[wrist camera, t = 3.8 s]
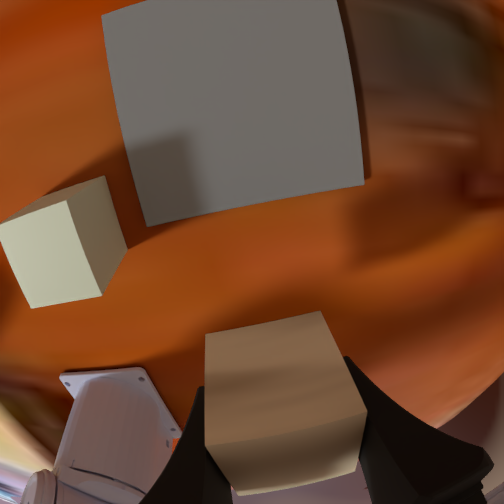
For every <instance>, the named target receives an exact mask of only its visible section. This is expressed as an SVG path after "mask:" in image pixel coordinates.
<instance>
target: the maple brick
mask: <svg viewBox="0 0 504 504" xmlns="http://www.w3.org/2000/svg"><path fill="white" fill-rule="evenodd" d="M366 416H367V409H366V407H365V405H364V403H363V400H362V398H361V396H360V394H359V392H358V389H357V387H356V385H355V383H354V381H353V379H352V376H351V374H350V372H349V370H348V368H347V366H346V363H345V361H344V359H343V357H342V355H341V353H340V351H339V349H338V346H337V344H336V342H335V340H334V338H333V336H332V334H331V332H330V330H329V328H328V326H327V323H326V321H325V319H324V317H323V315H322V313H321V311H316V312H312V313H307V314H303V315H299V316H294V317H290V318H285V319H281V320H276V321H271V322H266V323H262V324H257V325H252V326H247V327H241V328H236V329H231V330H226V331H220V332H215V333H209V334H205V446H206V448H207V450H208V451H209V453H210V454H211V456H212V457H213V459H214V461H215V462H216V464H217V465H218V467H219V468H220V470H221V471H222V473H223V474H224V476H225V477H226V478H227V480H228V481H229V483H230V484H231V486H232V487H233V488H234V490H235V491H236V493H237V494H238V495H239V496H241V495H250V494H257V493H264V492H270V491H276V490H281V489H286V488H292V487H296V486H301V485H306V484H310V483H314V482H318V481H322V480H326V479H330V478H333V477H337V476H341V475H344V474H348V473H351V472H354V471H355V469H356V464H357V461H358V456H359V452H360V447H361V442H362V437H363V432H364V427H365V422H366Z"/></svg>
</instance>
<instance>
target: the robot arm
mask: <svg viewBox="0 0 504 504" xmlns="http://www.w3.org/2000/svg"><path fill="white" fill-rule="evenodd" d="M343 359H344V361H345V363H346V366H347V368H348V370H349V372H350V374H351V376H352V379H353V381H354V383H355V385H356V387H357V389H358V392H359V394H360V396H361V398H362V400H363V403H364V405H365V407H366V409H367V416H366V422H365V427H364V432H363V437H362V442H361V447H360V452H359V456H358V458H359V461H360V464H361V467H362V470H363V473H364V476H365V480H366V483H367V487H368V490H369V494H370V498H371V501H372V504H504V482H503V483H502V484H500V485H499V486H497V487H496V488H495V489H493V490H492V491H490V492H489V493H487V494H486V495H483V493H482V491H481V489H483V484H482V483H481V480H482V479H483V478H484V477H485V476H486V475H487V474H488V473H489V472H490V471H491V470H492V468H493V466H494V463H493V461H492V460H491V458H490V456H489V455H488V454H487V452H486V451H485V450H484V449H483V448H482V447H479V446H476V445H473V444H469V443H467V442H464V441H461V440H459V439H457V438H454V437H452V436H450V435H447V434H445V433H443V432H441V431H439V430H438V429H436V428H434V427H432V426H430V425H428V424H426V423H425V422H423V421H421V420H420V419H418V418H417V417H415V416H414V415H412V414H411V413H409V412H408V411H406V410H405V409H404V408H402V407H401V406H400V405H398V404H397V403H396V402H395V401H393V400H392V399H391V398H390V397H388V396H387V395H386V394H385V393H384V392H383V391H382V390H380V389H379V388H378V387H377V386H376V385H375V384H374V383H373V382H372V381H371V380H370V379H369V378H368V377H367V376H366V375H365V374H364V373H363V372H362V371H361V370H360V369H359V368H358V367H357V366H356V365H355V364H354V362H353V361H352V360H351V359H350V358H349V357H348V356H345V357H343ZM141 377H142V378H141ZM60 380H61V381H62V383H63V384H64V386H65V387H66V388H67V390H68V391H69V392H70V394H71V395H72V396H73V398H74V399H75V401H74V404H73V406H72V409H71V412H70V415H69V418H68V421H67V424H66V427H65V431H64V434H63V437H62V440H61V444H60V447H59V450H58V454H57V457H56V461H55V464H54V468H53V471H49V470H47V469H43V470H41V471H39V472H35V473H34V474H33V475H32V476H31V477H30V479H29V481H28V483H27V485H26V487H25V490H24V493H23V495H22V498H21V502H20V504H233V502H232V494H231V484H230V483H229V481H228V480H227V478H226V477H225V476H224V474H223V473H222V471H221V470H220V468H219V467H218V465H217V464H216V462H215V461H214V459H213V457H212V456H211V454H210V453H209V451H208V450H207V448H206V446H205V386H201V387H199V388H198V389H197V393H196V396H195V400H194V403H193V406H192V409H191V412H190V415H189V417H188V420H187V422H186V425H185V427H184V430H183V432H182V431H181V429H180V428H179V426H178V425H177V423H176V421H175V420H174V418H173V417H172V415H171V414H170V412H169V410H168V409H167V407H166V405H165V404H164V402H163V400H162V399H161V397H160V395H159V394H158V392H157V390H156V388H155V387H154V385H153V383H152V382H151V380H150V378H149V376H148V374H147V373H146V371H145V370H144V369H143V368H141V367H133V368H123V369H112V370H101V371H87V372H71V373H61V375H60ZM173 438H180V439H179V441H178V443H177V445H176V447H175V450H174V452H173V454H172V442H173Z"/></svg>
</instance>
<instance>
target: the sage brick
mask: <svg viewBox="0 0 504 504" xmlns="http://www.w3.org/2000/svg"><path fill="white" fill-rule="evenodd" d="M0 241H1V243H2V246H3V248H4V251H5V253H6V256H7V258H8V260H9V263H10V265H11V267H12V270H13V272H14V274H15V276H16V278H17V281H18V283H19V285H20V287H21V289H22V291H23V293H24V295H25V297H26V299H27V301H28V303H29V305H30V307H31V308H37V307H42V306H48V305H54V304H59V303H65V302H70V301H76V300H81V299H87V298H92V297H98V296H102V295H103V293H104V291H105V289H106V288H107V286H108V284H109V282H110V280H111V278H112V277H113V275H114V273H115V271H116V269H117V268H118V266H119V264H120V262H121V261H122V259H123V257H124V255H125V254H126V252H127V250H128V249H127V246H126V243H125V240H124V237H123V234H122V231H121V228H120V225H119V222H118V218H117V215H116V212H115V209H114V205H113V202H112V199H111V195H110V192H109V188H108V185H107V181H106V178H105V175H104V176H101V177H98V178H95V179H91V180H88V181H85V182H82V183H79V184H76V185H73V186H70V187H68V188H65V189H62V190H59V191H56V192H53V193H51V194H48V195H45V196H43V197H41V198H39V199H37V200H36V201H34V202H32V203H31V204H29V205H28V206H26V207H24V208H23V209H21V210H20V211H18V212H16V213H15V214H13V215H12V216H10V217H9V218H7V219H6V220H4V221H3V222H1V223H0Z"/></svg>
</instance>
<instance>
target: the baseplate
mask: <svg viewBox="0 0 504 504" xmlns="http://www.w3.org/2000/svg"><path fill="white" fill-rule="evenodd" d="M102 24H103V32H104V39H105V46H106V53H107V59H108V65H109V71H110V76H111V82H112V87H113V92H114V98H115V103H116V107H117V112H118V117H119V122H120V126H121V131H122V135H123V139H124V144H125V148H126V152H127V156H128V160H129V164H130V168H131V172H132V176H133V179H134V183H135V187H136V191H137V194H138V198H139V201H140V205H141V208H142V212H143V215H144V219H145V222H146V225H147V227H150V226H154V225H158V224H163V223H167V222H171V221H176V220H180V219H185V218H189V217H194V216H199V215H203V214H208V213H213V212H217V211H222V210H227V209H232V208H237V207H242V206H247V205H252V204H257V203H262V202H267V201H272V200H278V199H283V198H289V197H294V196H300V195H305V194H311V193H317V192H322V191H328V190H334V189H340V188H346V187H353V186H359V185H364V172H363V159H362V149H361V139H360V130H359V121H358V113H357V106H356V98H355V92H354V85H353V79H352V73H351V67H350V61H349V56H348V51H347V45H346V40H345V36H344V31H343V26H342V22H341V17H340V13H339V9H338V5H337V1H336V0H147V1H144V2H140V3H137V4H134V5H131V6H127V7H124V8H121V9H119V10H116V11H113V12H110V13H107V14H105V15H102Z"/></svg>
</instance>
